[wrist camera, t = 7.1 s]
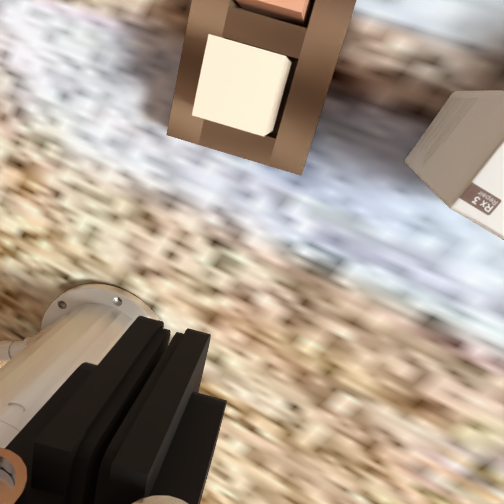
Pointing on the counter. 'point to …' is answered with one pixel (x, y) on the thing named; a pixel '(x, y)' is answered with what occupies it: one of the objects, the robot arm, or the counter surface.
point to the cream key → (240, 85)
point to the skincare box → (466, 157)
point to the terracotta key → (280, 9)
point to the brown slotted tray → (296, 89)
